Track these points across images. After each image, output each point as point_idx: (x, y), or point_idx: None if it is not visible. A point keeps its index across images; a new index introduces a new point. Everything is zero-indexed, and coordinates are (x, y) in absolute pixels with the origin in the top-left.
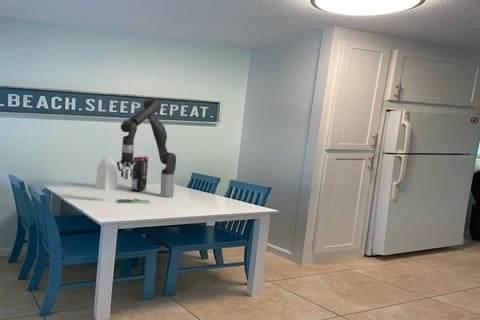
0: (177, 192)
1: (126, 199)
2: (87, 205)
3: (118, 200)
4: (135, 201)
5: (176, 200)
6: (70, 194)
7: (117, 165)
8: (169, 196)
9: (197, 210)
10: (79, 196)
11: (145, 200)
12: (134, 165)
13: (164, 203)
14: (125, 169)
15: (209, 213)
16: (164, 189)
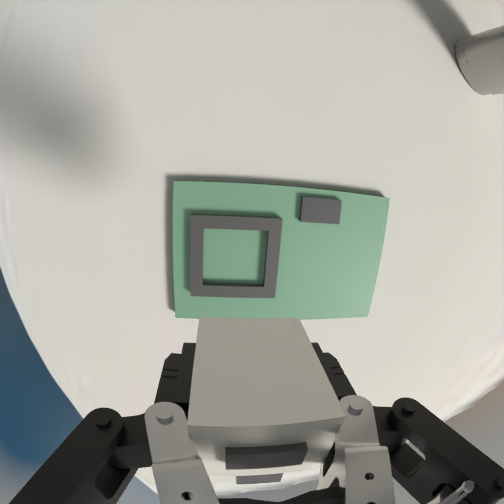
0: (491, 7)
1: (248, 224)
2: (50, 322)
3: (190, 229)
4: (303, 255)
5: (492, 181)
6: (10, 20)
7: (48, 491)
8: (485, 94)
9: (451, 383)
10: (21, 55)
11: (372, 216)
12: (453, 471)
13: (436, 263)
14: (235, 465)
15: (447, 410)
16: (494, 76)
